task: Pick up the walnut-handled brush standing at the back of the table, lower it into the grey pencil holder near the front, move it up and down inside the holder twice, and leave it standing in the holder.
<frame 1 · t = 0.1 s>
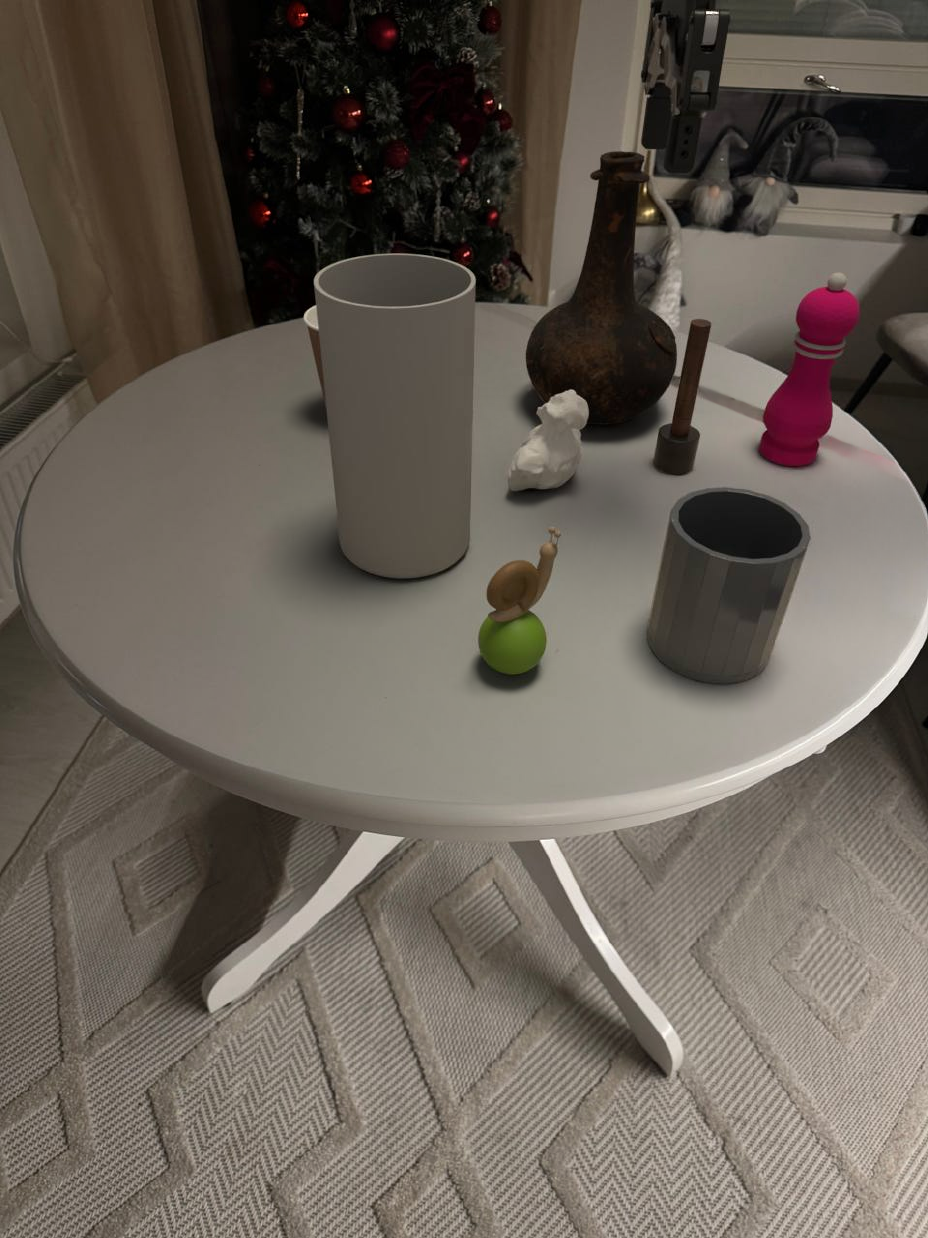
hand: (665, 159, 69), 32 cm above the table, tool pointing down, fingers open, 8 cm apart
cylinder vase: (405, 544, 82), on the table
coffee cup: (357, 414, 102), on the table
grey pencil holder: (707, 641, 71), on the table
snail figurine: (515, 664, 69), on the table
brush: (673, 464, 94), on the table
bust: (547, 481, 91), on the table
pepper mill: (786, 454, 96), on the table
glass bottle: (593, 409, 104), on the table
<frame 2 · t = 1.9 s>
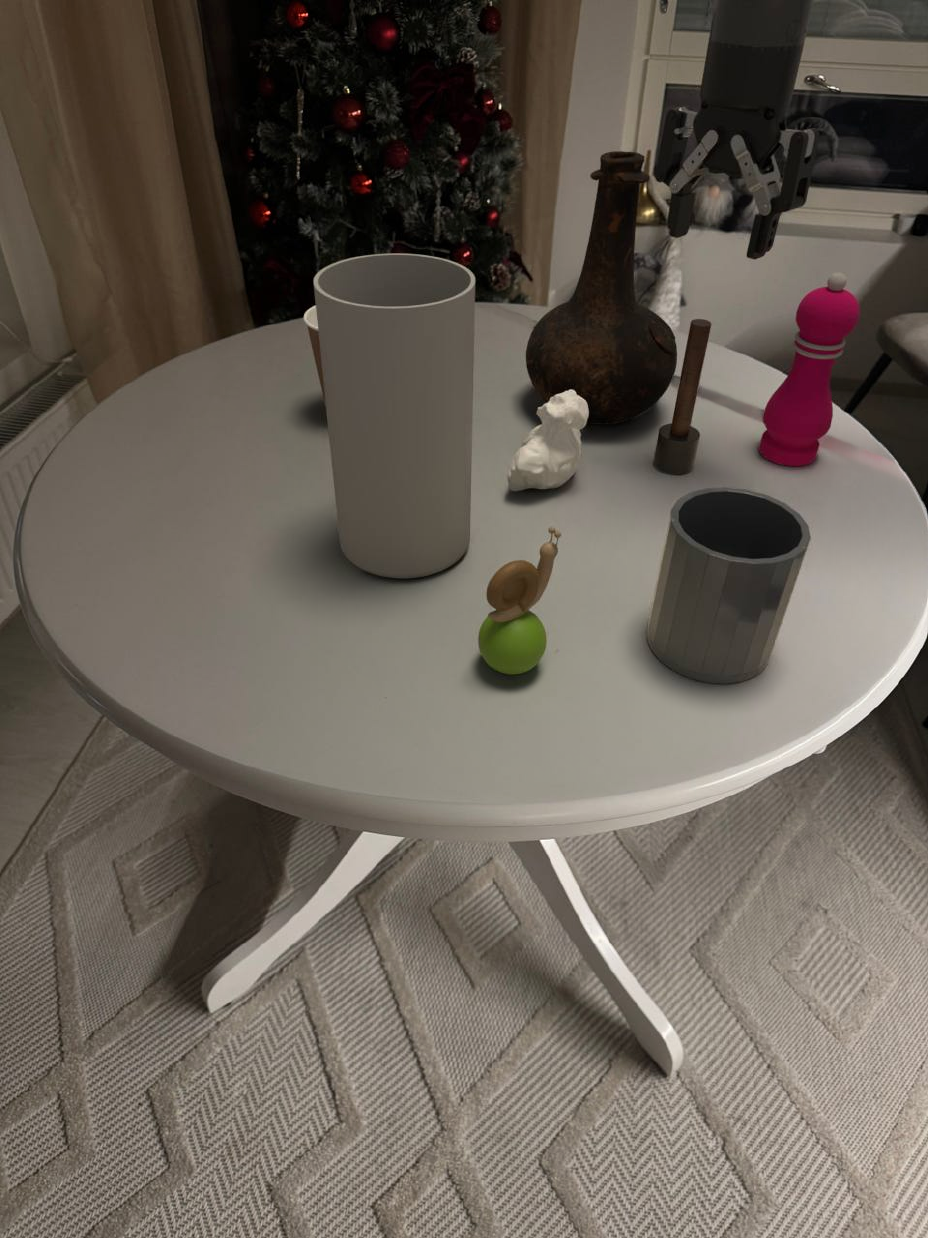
hand: (715, 245, 79), 23 cm above the table, tool pointing down, fingers open, 8 cm apart
nothing on the table moved.
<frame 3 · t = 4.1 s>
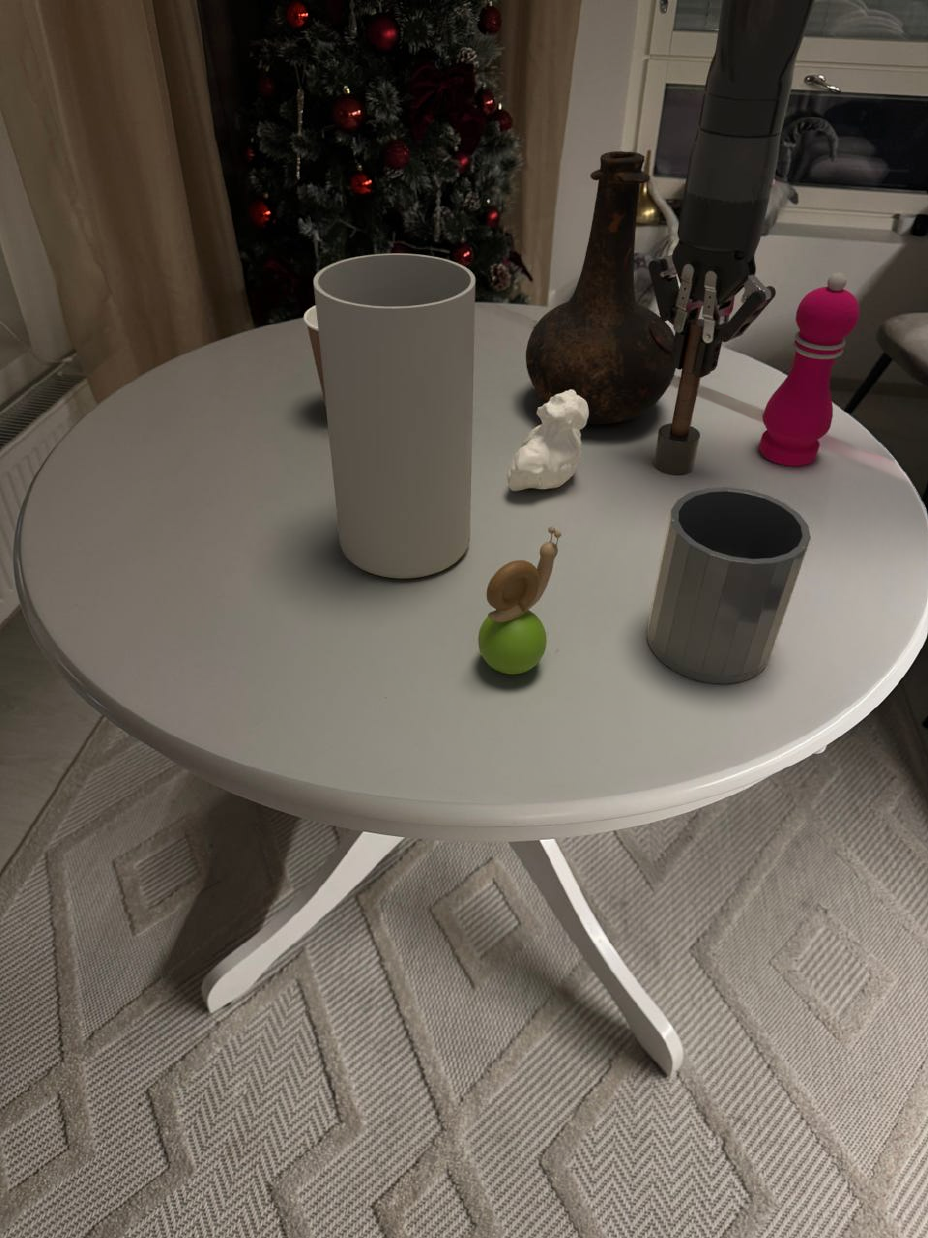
hand: (691, 369, 87), 11 cm above the table, tool pointing down, fingers closed on brush, 2 cm apart
brush: (673, 464, 94), on the table, touching gripper
everything else where it was.
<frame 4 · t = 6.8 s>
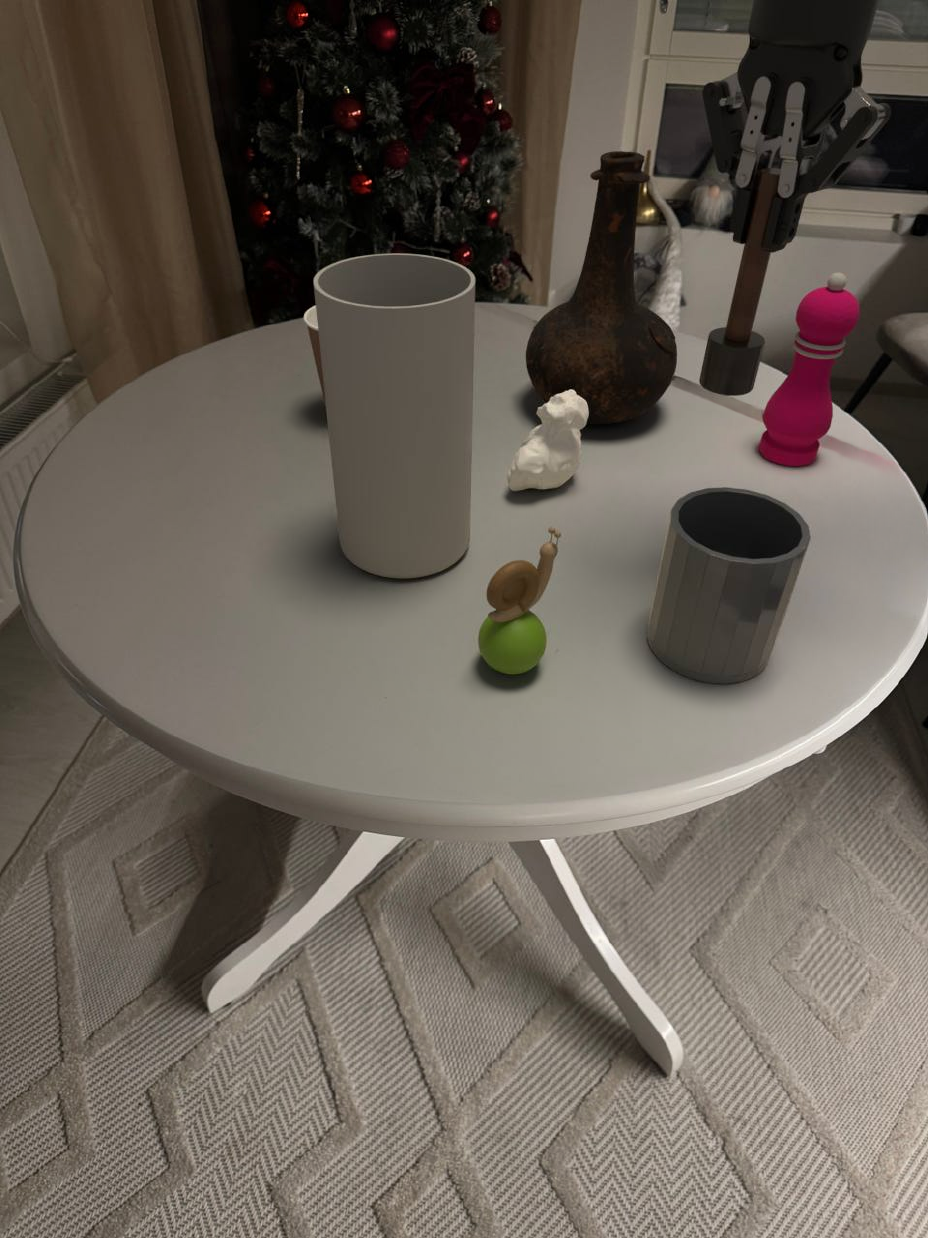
hand: (758, 244, 63), 28 cm above the table, tool pointing down, fingers closed on brush
brush: (725, 384, 70), point 17 cm above the table, touching gripper
everything else where it was.
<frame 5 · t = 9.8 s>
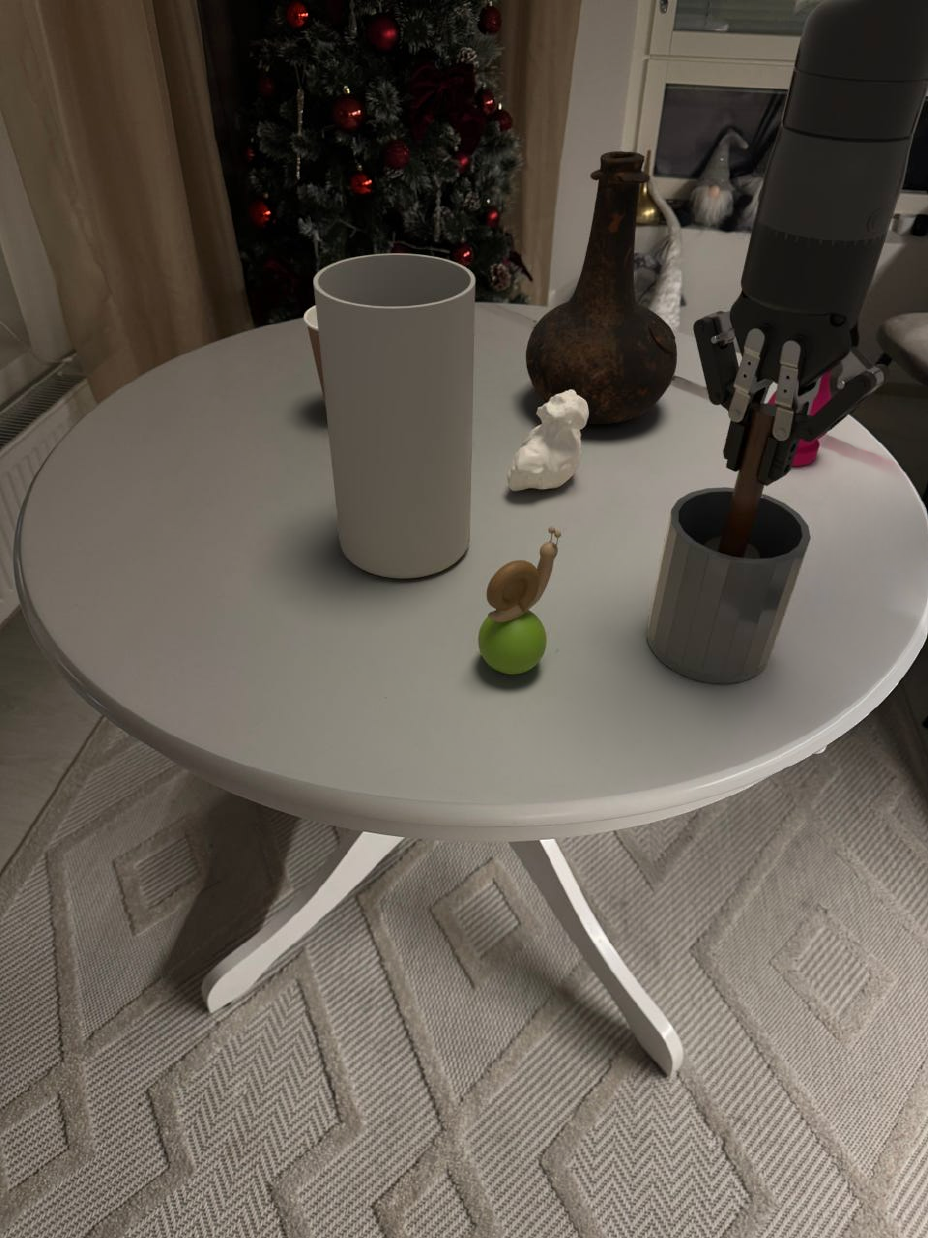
hand: (752, 472, 61), 16 cm above the table, tool pointing down, fingers closed on brush
brush: (720, 593, 68), point 5 cm above the table, touching gripper
everything else where it was.
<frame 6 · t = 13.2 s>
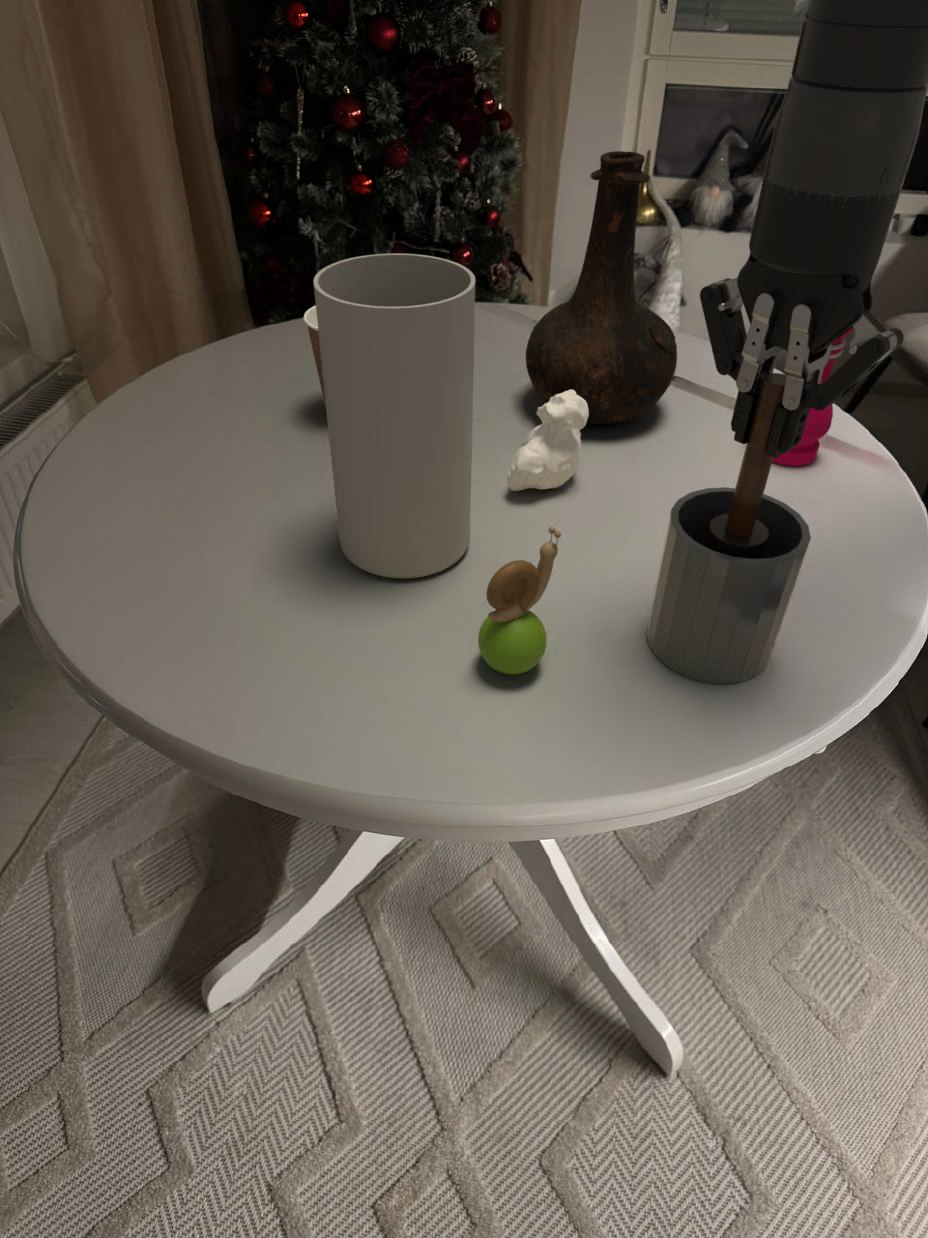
hand: (761, 444, 59), 19 cm above the table, tool pointing down, fingers closed on brush
brush: (727, 571, 66), point 7 cm above the table, touching gripper
everything else where it was.
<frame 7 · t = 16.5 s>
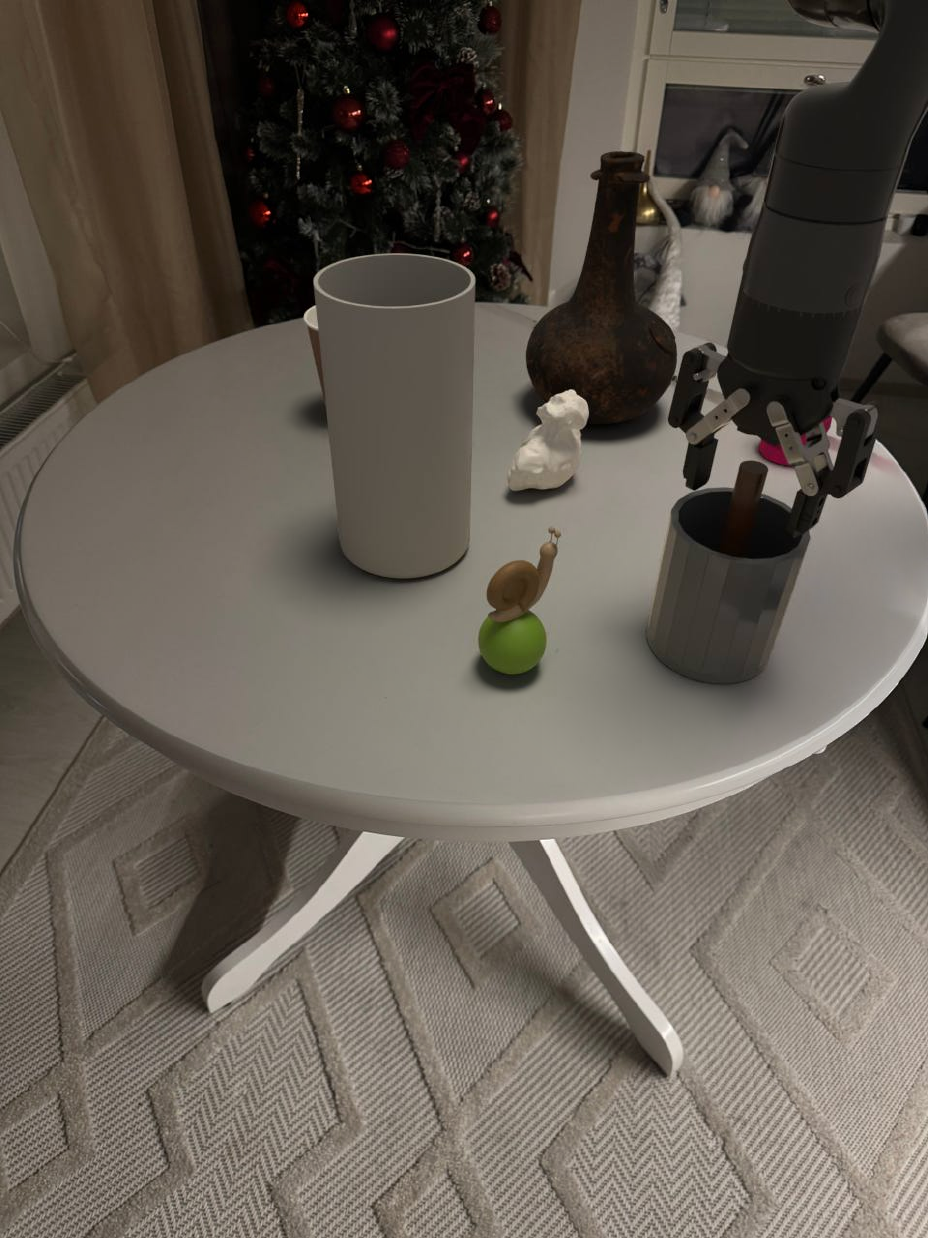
hand: (743, 508, 63), 13 cm above the table, tool pointing down, fingers open, 8 cm apart
brush: (709, 634, 71), point 1 cm above the table, touching grey pencil holder
everything else where it was.
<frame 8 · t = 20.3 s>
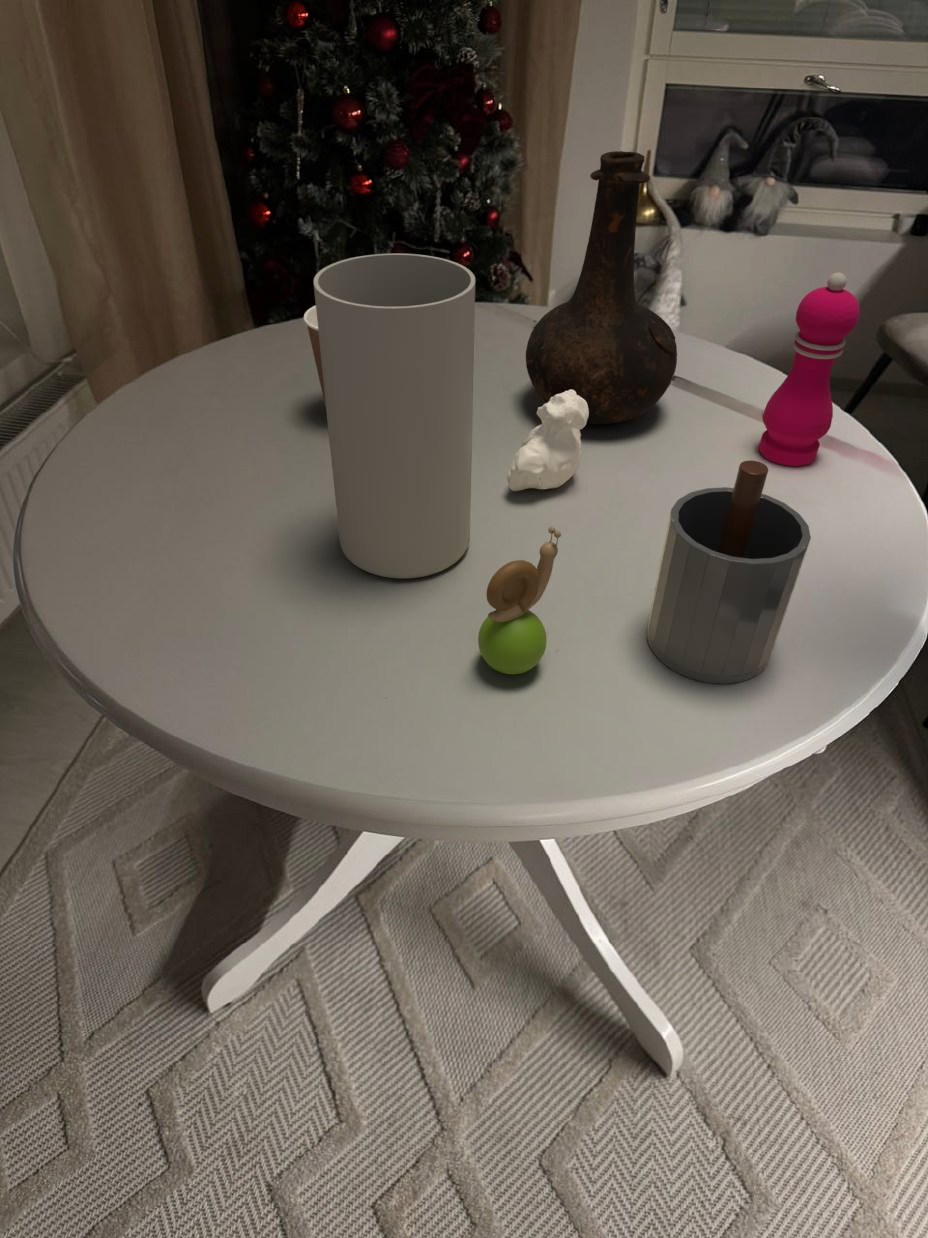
nothing on the table moved.
at the end: brush 0.1 cm off-centre in the grey pencil holder, point 0.8 cm above the grey pencil holder's base; brush moved 29.8 cm from its start; the gripper is holding nothing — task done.
